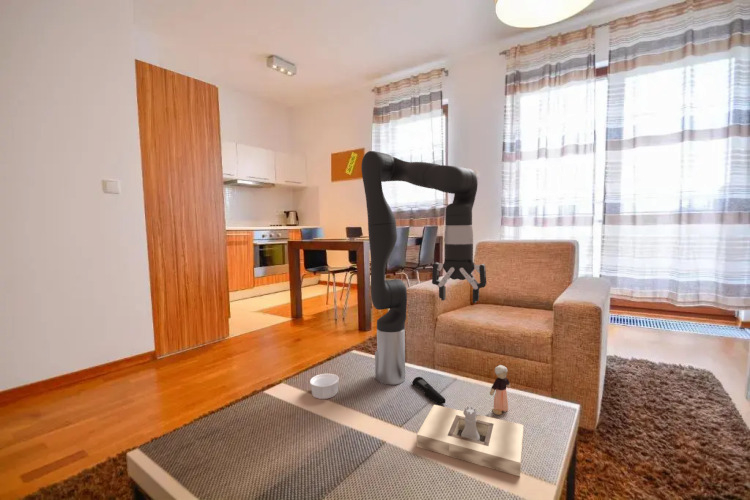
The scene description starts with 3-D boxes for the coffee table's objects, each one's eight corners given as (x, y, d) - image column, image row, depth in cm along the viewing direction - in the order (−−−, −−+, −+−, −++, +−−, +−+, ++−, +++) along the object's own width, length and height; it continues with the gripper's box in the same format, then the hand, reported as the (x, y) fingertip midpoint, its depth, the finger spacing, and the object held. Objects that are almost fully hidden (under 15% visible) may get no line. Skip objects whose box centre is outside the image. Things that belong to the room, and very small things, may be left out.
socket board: (416, 446, 78) (416, 434, 78) (434, 415, 90) (434, 404, 90) (520, 476, 68) (520, 462, 68) (523, 436, 81) (523, 424, 80)
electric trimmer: (437, 410, 94) (437, 399, 94) (411, 385, 108) (411, 375, 108) (448, 407, 95) (448, 396, 95) (421, 382, 110) (421, 373, 109)
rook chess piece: (483, 441, 79) (483, 408, 79) (475, 451, 76) (475, 417, 75) (466, 433, 82) (466, 402, 82) (457, 442, 79) (457, 410, 78)
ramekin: (304, 397, 101) (304, 383, 101) (320, 384, 109) (319, 371, 109) (330, 402, 98) (329, 388, 97) (344, 388, 106) (344, 375, 106)
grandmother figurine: (500, 418, 88) (501, 372, 87) (487, 412, 91) (487, 367, 90) (514, 407, 93) (515, 363, 92) (501, 402, 96) (502, 359, 95)
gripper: (488, 241, 91) (487, 300, 92) (436, 241, 97) (436, 296, 99) (483, 243, 84) (483, 306, 86) (429, 242, 91) (429, 302, 92)
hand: (458, 301), depth 92 cm, fingers open, 8 cm apart
